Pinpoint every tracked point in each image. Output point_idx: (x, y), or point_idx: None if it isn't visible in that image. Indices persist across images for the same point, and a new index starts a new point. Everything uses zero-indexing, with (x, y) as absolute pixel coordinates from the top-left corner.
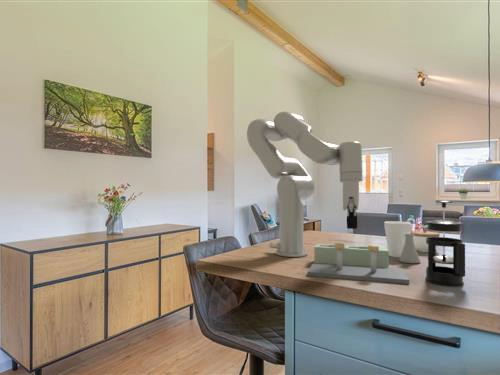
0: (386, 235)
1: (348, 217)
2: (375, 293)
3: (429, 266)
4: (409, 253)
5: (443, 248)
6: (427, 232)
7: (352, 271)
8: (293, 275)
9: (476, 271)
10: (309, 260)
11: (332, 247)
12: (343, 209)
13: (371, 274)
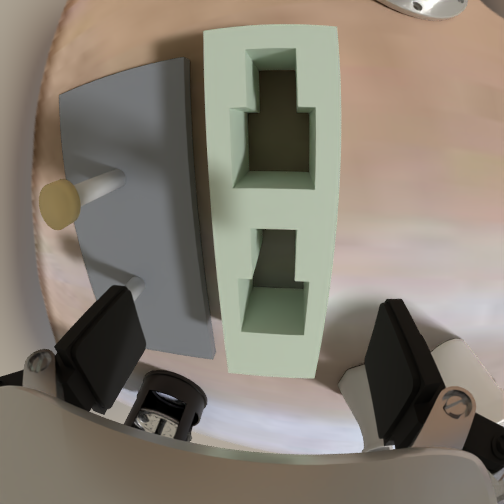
0: (478, 384)
1: (66, 354)
2: (37, 264)
3: (142, 396)
4: (351, 402)
5: None
6: None
7: (108, 223)
8: (63, 60)
9: (285, 443)
10: (302, 23)
11: (223, 131)
12: (13, 386)
13: (106, 274)
